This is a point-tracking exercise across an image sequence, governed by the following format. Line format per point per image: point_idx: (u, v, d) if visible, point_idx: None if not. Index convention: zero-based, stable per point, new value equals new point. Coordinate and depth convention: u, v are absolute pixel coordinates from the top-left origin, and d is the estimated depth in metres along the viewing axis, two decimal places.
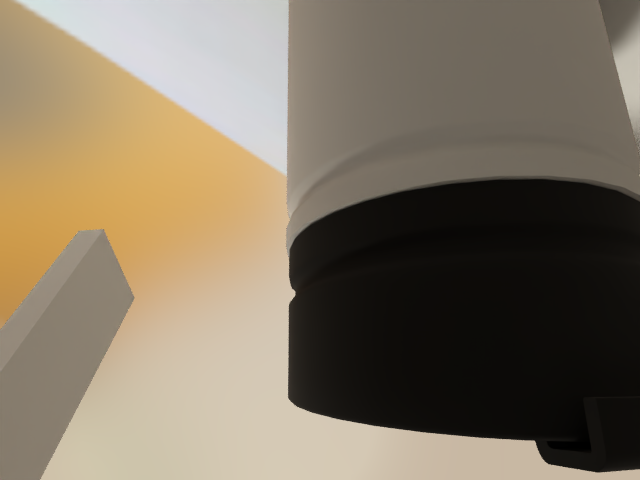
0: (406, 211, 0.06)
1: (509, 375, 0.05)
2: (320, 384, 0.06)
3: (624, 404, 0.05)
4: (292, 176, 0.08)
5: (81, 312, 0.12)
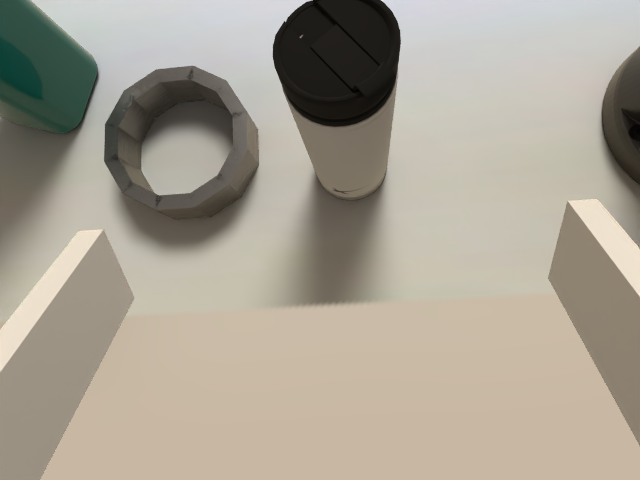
0: (397, 71, 0.24)
1: (394, 68, 0.22)
2: None
3: (392, 85, 0.21)
4: None
5: (81, 312, 0.12)
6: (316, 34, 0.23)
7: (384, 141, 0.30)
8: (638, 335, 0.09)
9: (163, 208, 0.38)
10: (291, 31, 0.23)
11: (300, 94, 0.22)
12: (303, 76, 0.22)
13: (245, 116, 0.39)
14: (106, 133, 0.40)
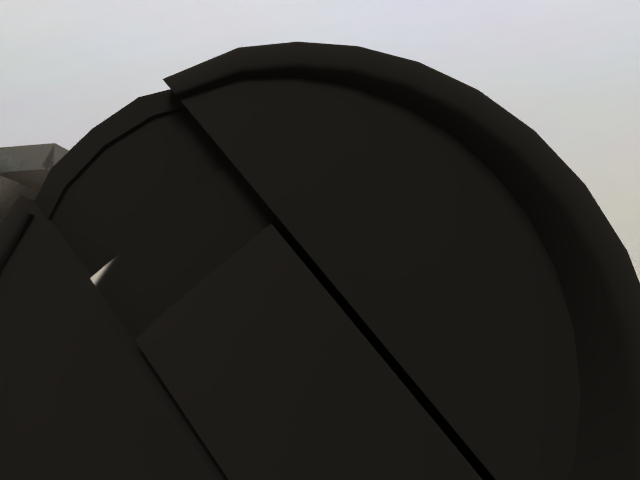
0: None
1: None
2: None
3: None
4: None
5: None
6: (177, 266, 0.05)
7: None
8: None
9: None
10: (46, 252, 0.05)
11: None
12: None
13: None
14: None
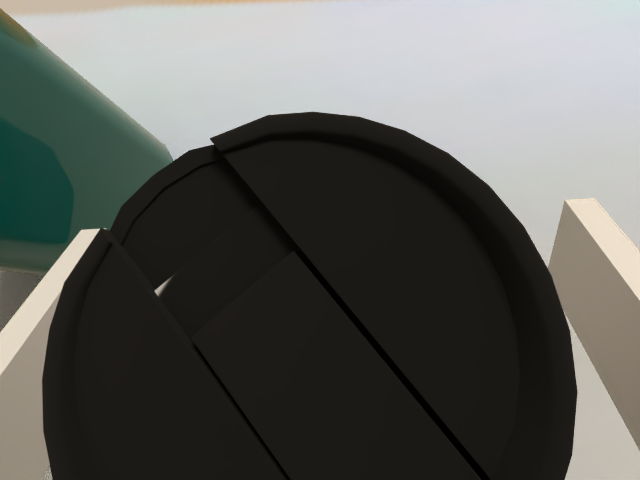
0: None
1: None
2: None
3: None
4: None
5: None
6: (220, 283, 0.06)
7: None
8: (634, 334, 0.09)
9: None
10: (123, 272, 0.06)
11: None
12: (155, 476, 0.05)
13: None
14: None
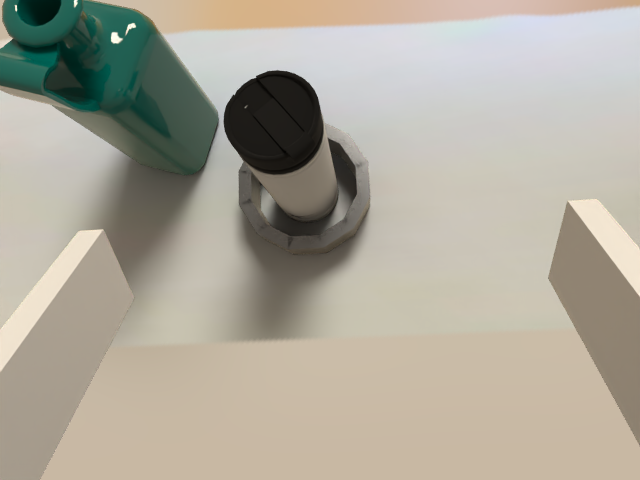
0: (323, 132, 0.31)
1: (315, 133, 0.29)
2: (316, 96, 0.29)
3: (313, 148, 0.28)
4: None
5: (81, 312, 0.12)
6: (258, 105, 0.30)
7: (323, 180, 0.37)
8: (638, 335, 0.09)
9: (295, 248, 0.43)
10: (238, 102, 0.29)
11: (243, 153, 0.28)
12: (246, 138, 0.29)
13: (367, 166, 0.44)
14: (240, 179, 0.45)
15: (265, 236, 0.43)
